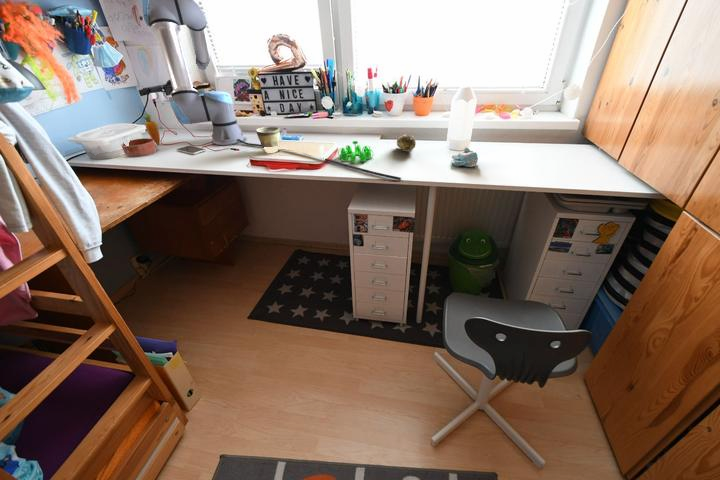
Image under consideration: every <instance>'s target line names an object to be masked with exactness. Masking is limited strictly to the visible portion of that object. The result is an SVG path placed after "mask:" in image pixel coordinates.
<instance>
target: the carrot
mask: <svg viewBox="0 0 720 480" xmlns="http://www.w3.org/2000/svg"><path fill="white" fill-rule="evenodd" d="M145 114H146V115H144V116H141V118H142V119H144V120H146V122H145V123H144V127H145V126H146V127H145V129H146V131H147V133H148V135H149V138H151V139H153V140H154V142H155V145H156V146H159V145H160V142H161V137H160V135H161V134H160V130H159V127H158V123H157V122H156V121H154V120H152V116H151V114H149V113H148V112H146V113H145Z"/></svg>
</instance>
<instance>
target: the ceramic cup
mask: <svg viewBox="0 0 720 480" xmlns="http://www.w3.org/2000/svg"><path fill="white" fill-rule="evenodd" d="M255 132H256V135H257V138H258V140H259V141H260V145H262V147H261V148H262V149H263V148H264V147H274V146H278V145H279V146H280V136H281V135H280V133H281V131H280V127H278V126H264V127H260V128H256V130H255Z"/></svg>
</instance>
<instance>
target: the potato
mask: <svg viewBox="0 0 720 480" xmlns="http://www.w3.org/2000/svg"><path fill="white" fill-rule="evenodd" d="M416 145H417V144H416V139H415V137H414V136H413V135H411V134H403V135H401V136H400V137H398V138H397V140H396V146H397V147H398V148H399V149H400V150H402V151H403V152H410V151H412V150H414V149H415V148H416Z"/></svg>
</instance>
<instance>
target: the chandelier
mask: <svg viewBox="0 0 720 480" xmlns="http://www.w3.org/2000/svg"><path fill="white" fill-rule="evenodd" d="M352 144H353V145H354V151H353V149H352V147H351V145H346V146H345V147H340V148H339V149H338V152H337V155H338V157H339V159H340V161H344V162H347V161H348V160H349V161H350V163H351V164H354V163H355V162H356V156H359V160H360V162H362V163H365V162H366V161H367V160H371V159H372V158H373V157H374V155H372V154H374V151H373V150H372V149H371V147H370V146H369V145H364V146H363V147H361V146H360V143H359V142H358V141H357V140H353V141H352Z"/></svg>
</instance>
